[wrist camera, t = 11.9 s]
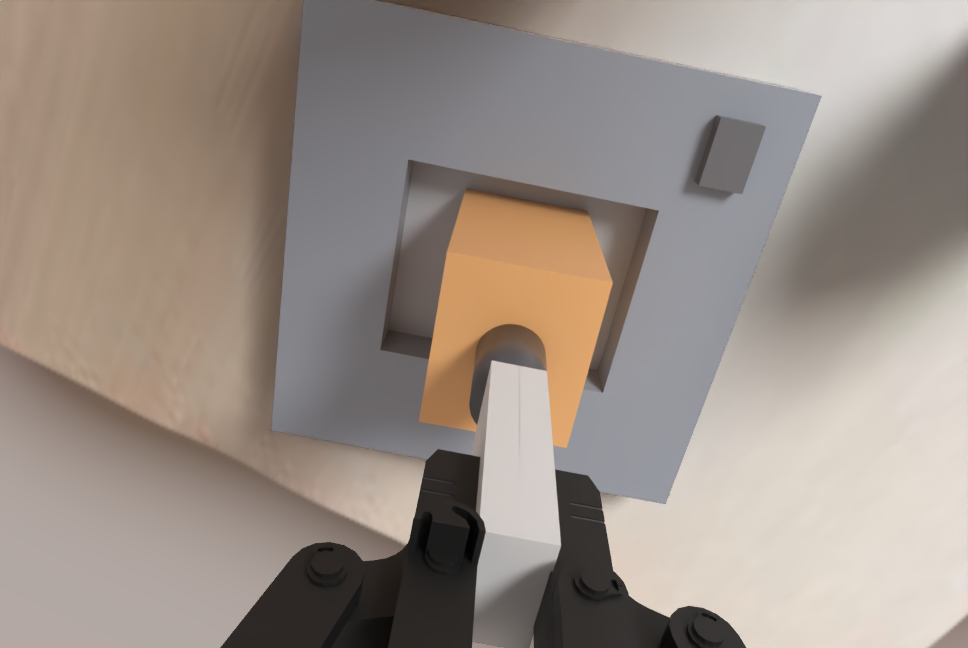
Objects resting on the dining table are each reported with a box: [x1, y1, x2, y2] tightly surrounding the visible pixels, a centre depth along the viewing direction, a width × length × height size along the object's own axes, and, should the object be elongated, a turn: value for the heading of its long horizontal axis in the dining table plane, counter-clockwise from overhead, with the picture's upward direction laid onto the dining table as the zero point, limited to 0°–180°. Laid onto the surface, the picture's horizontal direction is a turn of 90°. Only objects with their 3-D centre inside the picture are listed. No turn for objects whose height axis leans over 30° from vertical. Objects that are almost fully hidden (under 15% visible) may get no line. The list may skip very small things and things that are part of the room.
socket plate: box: [271, 0, 822, 504], centre depth 28 cm, size 18×18×3 cm
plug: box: [419, 188, 613, 448], centre depth 24 cm, size 6×5×11 cm
